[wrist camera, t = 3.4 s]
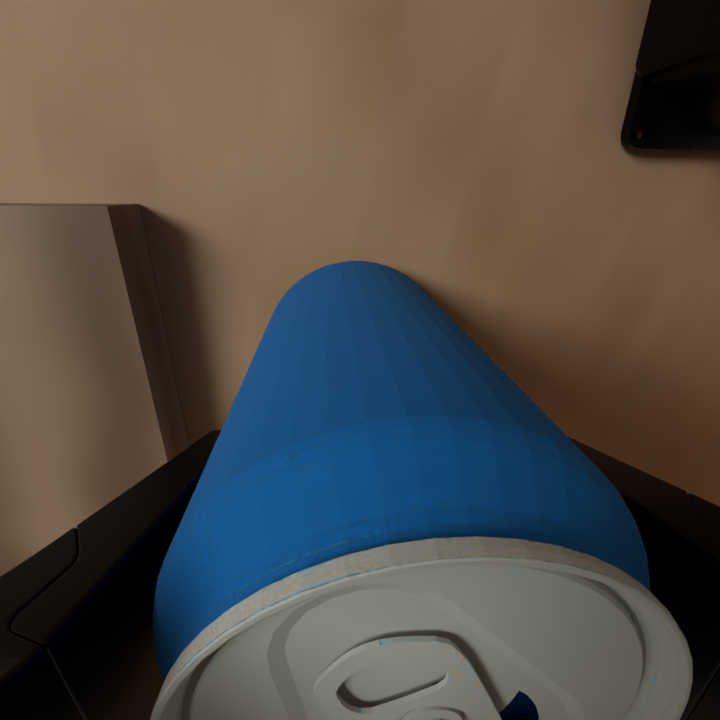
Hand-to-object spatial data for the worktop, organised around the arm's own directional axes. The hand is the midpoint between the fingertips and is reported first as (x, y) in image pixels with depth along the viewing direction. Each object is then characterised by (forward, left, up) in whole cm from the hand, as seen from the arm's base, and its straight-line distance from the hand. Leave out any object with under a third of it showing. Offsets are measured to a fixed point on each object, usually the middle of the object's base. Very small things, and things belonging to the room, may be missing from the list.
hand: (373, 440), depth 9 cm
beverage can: (0, 0, -7) cm, 7 cm away
